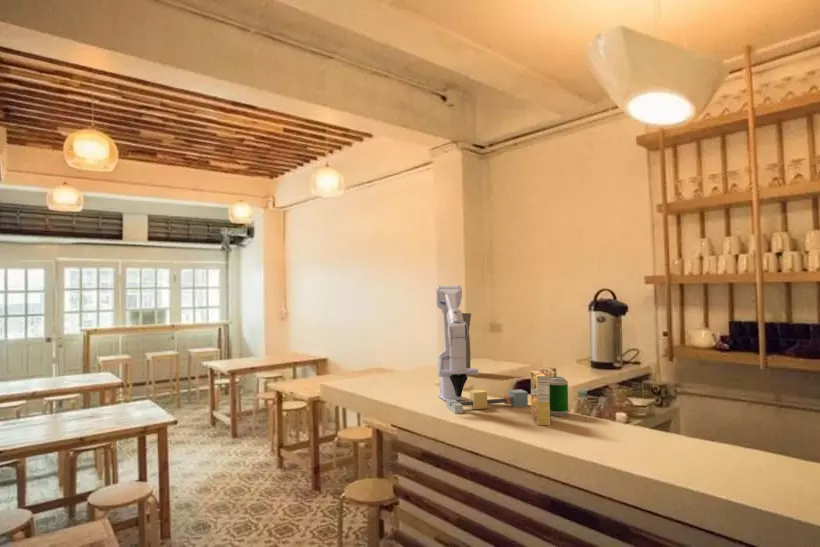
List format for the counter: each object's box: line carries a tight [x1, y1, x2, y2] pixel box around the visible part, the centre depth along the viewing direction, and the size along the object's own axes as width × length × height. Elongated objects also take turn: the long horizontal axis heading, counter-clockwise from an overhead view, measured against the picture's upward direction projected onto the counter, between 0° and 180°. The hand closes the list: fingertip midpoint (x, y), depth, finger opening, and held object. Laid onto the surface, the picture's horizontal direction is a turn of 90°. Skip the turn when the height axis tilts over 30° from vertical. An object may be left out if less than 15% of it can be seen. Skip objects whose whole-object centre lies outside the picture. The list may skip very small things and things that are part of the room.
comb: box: [445, 400, 464, 414], centre depth 171 cm, size 9×3×3 cm, turn 15°
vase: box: [462, 312, 472, 369], centre depth 246 cm, size 12×12×30 cm
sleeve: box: [469, 389, 488, 410], centre depth 173 cm, size 4×5×6 cm
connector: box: [507, 389, 529, 408], centre depth 177 cm, size 5×7×5 cm
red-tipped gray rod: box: [451, 395, 511, 407], centre depth 173 cm, size 23×3×3 cm, turn 105°
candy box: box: [530, 370, 551, 426], centre depth 155 cm, size 9×4×15 cm, turn 179°
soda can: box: [550, 376, 569, 417], centre depth 164 cm, size 8×8×12 cm
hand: (458, 396), depth 171 cm, fingers closed
